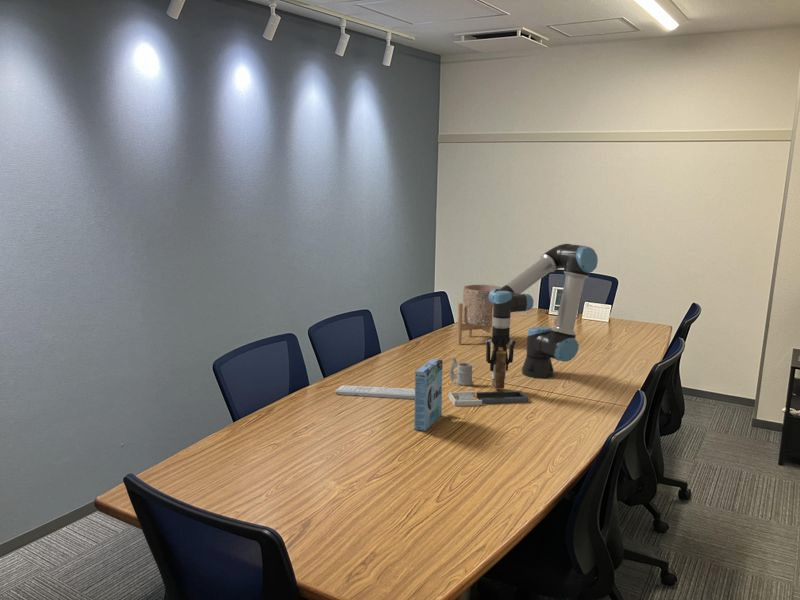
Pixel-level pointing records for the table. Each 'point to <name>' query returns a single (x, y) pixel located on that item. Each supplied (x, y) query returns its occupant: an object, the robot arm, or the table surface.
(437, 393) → the gum box
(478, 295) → the planter
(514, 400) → the dark grey open case
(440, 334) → the table surface
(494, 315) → the robot arm
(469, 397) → the chip
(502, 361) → the tan block
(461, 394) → the grey squarish block
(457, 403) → the tray
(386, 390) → the keyboard
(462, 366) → the mug
